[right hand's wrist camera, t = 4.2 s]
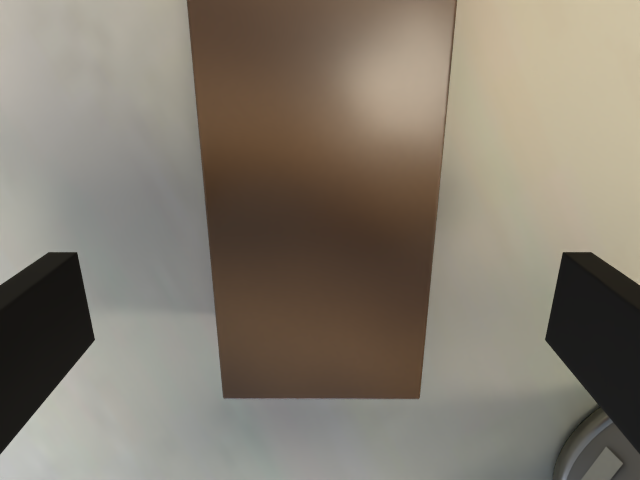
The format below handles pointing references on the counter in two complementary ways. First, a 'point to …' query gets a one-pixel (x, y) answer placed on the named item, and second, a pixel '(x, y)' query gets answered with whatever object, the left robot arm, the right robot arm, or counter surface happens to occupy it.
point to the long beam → (321, 188)
